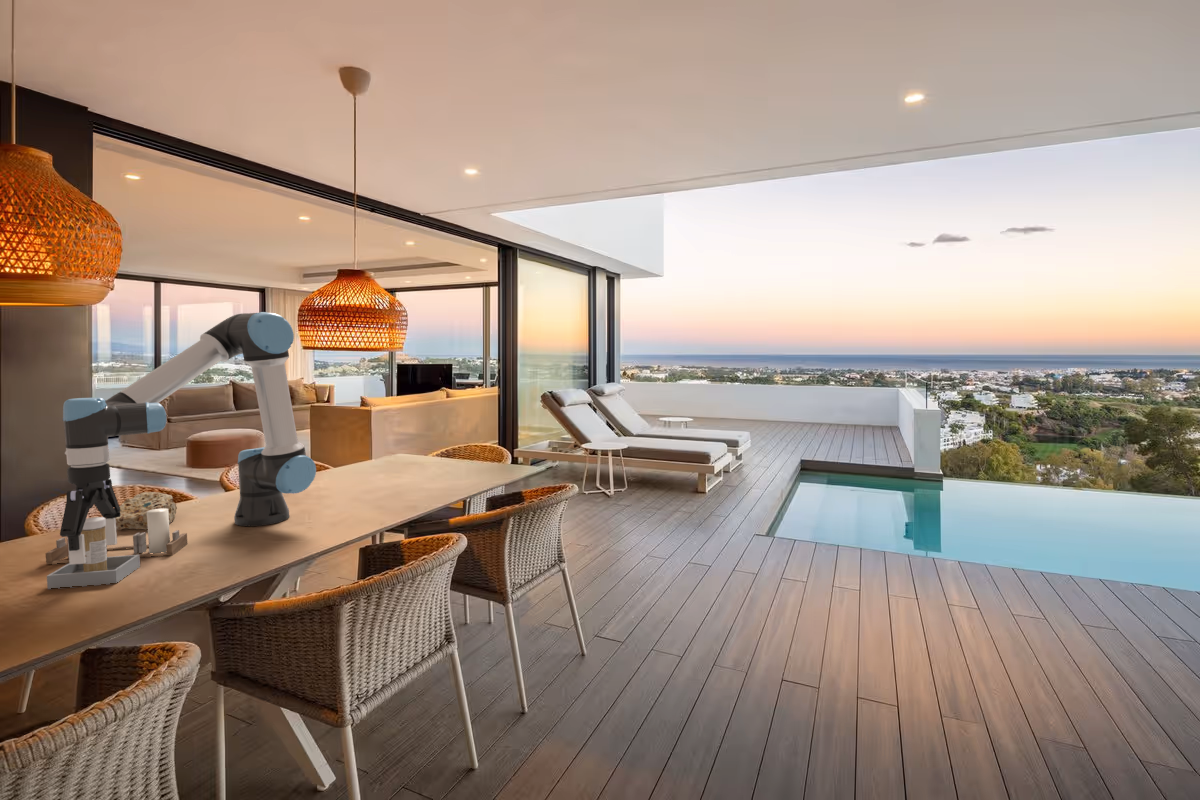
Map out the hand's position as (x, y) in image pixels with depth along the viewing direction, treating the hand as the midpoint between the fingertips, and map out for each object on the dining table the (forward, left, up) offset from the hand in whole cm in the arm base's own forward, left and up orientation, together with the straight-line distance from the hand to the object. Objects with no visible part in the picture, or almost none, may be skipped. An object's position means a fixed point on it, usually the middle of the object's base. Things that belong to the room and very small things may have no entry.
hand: (94, 553), depth 141 cm
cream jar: (-6, -18, -6) cm, 20 cm away
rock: (+10, -50, -6) cm, 51 cm away
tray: (0, 0, -6) cm, 6 cm away
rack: (+3, -18, -6) cm, 19 cm away
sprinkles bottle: (0, 0, -5) cm, 5 cm away
